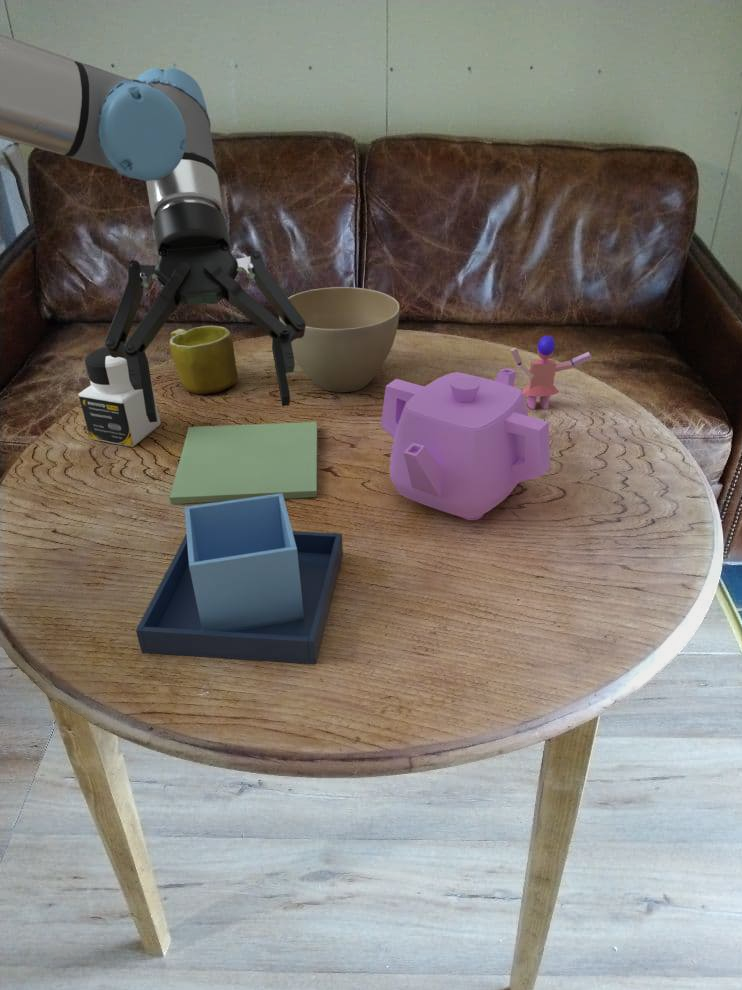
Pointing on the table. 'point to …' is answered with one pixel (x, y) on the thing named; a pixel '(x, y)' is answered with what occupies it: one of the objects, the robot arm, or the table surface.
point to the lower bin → (180, 632)
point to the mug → (204, 358)
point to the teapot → (463, 441)
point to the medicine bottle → (114, 402)
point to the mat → (247, 462)
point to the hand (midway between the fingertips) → (220, 410)
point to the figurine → (544, 372)
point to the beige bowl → (344, 335)
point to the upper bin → (243, 563)
